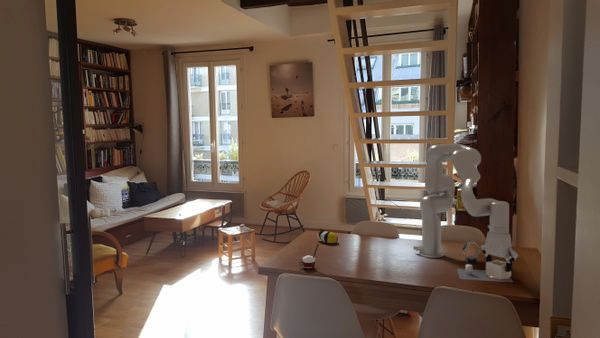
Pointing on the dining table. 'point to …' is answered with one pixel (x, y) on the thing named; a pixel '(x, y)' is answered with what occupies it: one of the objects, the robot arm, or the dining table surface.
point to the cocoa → (309, 260)
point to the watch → (470, 258)
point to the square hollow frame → (497, 270)
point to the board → (477, 275)
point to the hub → (496, 278)
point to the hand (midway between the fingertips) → (498, 268)
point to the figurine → (327, 236)
